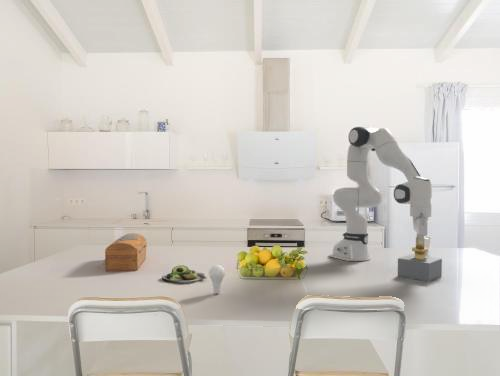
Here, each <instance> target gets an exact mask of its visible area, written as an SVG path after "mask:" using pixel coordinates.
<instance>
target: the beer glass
mask: <svg viewBox="0 0 500 376" xmlns="http://www.w3.org/2000/svg"><path fill="white" fill-rule="evenodd" d="M424 238H425V241H424V248H427V249H428V252H425V256H427V257H431V256H430V255H431V251H432V250H431V248H432V241H431V237H429V236H424Z"/></svg>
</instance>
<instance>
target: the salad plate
mask: <svg viewBox="0 0 500 376" xmlns="http://www.w3.org/2000/svg"><path fill="white" fill-rule="evenodd" d="M207 278H208V277H207V276H206V274H205V273H204V272H199V271H198V272H197V271H196V270H193V269H189V267H188V266H186V265H177V266H174V267H173V268H172V269H171V272H170V273H166V274H163V275H161V279H162V280H163V281H164V282H168V283H175V284H183V285H184V284H193V283H197V282H199V281H201V280H204V279H207Z"/></svg>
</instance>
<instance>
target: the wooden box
mask: <svg viewBox="0 0 500 376" xmlns="http://www.w3.org/2000/svg"><path fill="white" fill-rule="evenodd" d="M147 243H148V240H147V239H146V238H145V237H144V236H143V235H142V234H139V233H132V232H131V233H127V234H124V235H122V236H120V237H119V238H117V239H116V240H115V241H114V242H112V243H111V244H110V245H108V246H107V247H106V248H105V250H104V251H105V252H104V260H105V261H104V263H105V265H104V266H105V271H106V272H130V271H131V272H133V271H138V270H139V269H140V267H141V266H142V265H143V263H144V262H145V260H146V259H147Z"/></svg>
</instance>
